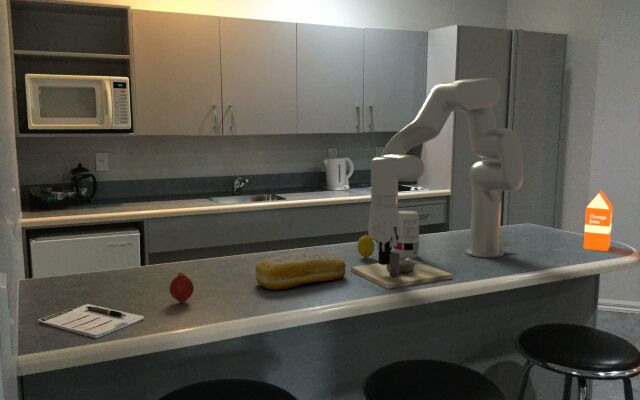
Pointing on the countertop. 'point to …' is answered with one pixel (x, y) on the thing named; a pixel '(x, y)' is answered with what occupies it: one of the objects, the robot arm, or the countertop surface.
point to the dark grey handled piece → (399, 265)
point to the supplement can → (408, 235)
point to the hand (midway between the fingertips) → (384, 263)
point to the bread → (298, 269)
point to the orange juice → (598, 223)
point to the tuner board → (401, 275)
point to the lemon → (365, 246)
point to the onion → (181, 288)
